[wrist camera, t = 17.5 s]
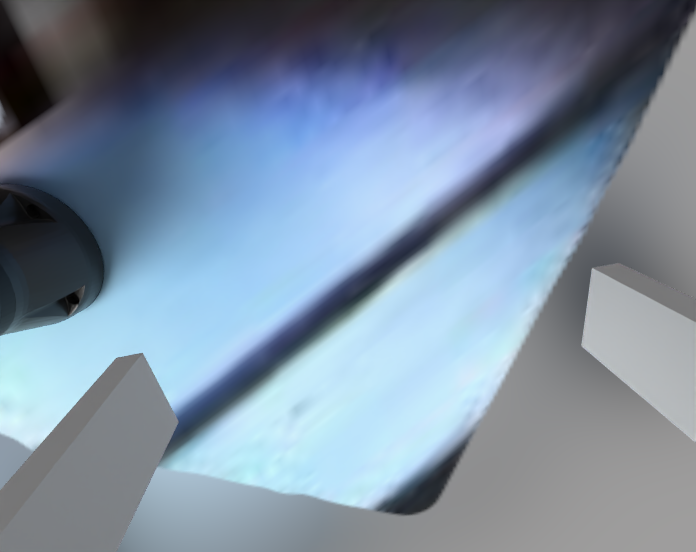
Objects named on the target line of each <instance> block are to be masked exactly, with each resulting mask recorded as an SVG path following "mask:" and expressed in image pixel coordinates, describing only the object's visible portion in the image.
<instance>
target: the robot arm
mask: <svg viewBox="0 0 696 552" xmlns="http://www.w3.org/2000/svg"><path fill="white" fill-rule="evenodd" d="M103 272H104V271H103V261H102V256H101V253H100V250H99V247H98V245H97V243H96V241H95V239H94V237H93V235H92V233H91V232H90V230H89V229H88V227H87V226H86V225H85V224H84V222H83V221H82V220H81V219H80V218H79V217H78V216H77V215H76V214H75V213H74V212H73V211H72V210H71V209H70V208H69V207H67V206H66V205H65V204H63V203H62V202H61V201H59V200H58V199H56V198H54V197H53V196H51V195H49V194H47V193H45V192H42V191H40V190H37V189H35V188H31V187H28V186H23V185H17V184H1V185H0V336H1V335H5V334H9V333H14V332H19V331H23V330H28V329H33V328H37V327H42V326H47V325H51V324H56V323H59V322H61V321H64V320H66V319H68V318H70V317H72V316H74V315H75V314H77V313H79V312H80V311H82V310H84V309H85V308H87V307H88V306H89V305H90V304H91V303H92V302H93V301H94V300H95V298H96V297H97V295H98V293H99V291H100V289H101V286H102V282H103ZM582 347H583V348H584V349H586V350H587V351H588V352H589V353H591V355H593V356H594V357H595V358H596V359H598V360H599V361H600V362H601V363H602V364H603V365H604V366H606V367H607V368H608V369H609V370H610V371H612V372H613V373H614V374H615V375H616V376H618V377H619V378H620V379H621V380H622V381H623V382H625V383H626V384H627V385H628V386H629V387H630V388H632V389H633V390H634V391H635V392H636V393H638V394H639V395H640V396H641V397H642V398H643V399H645V400H646V401H647V402H648V403H649V404H651V405H652V406H653V407H654V408H655V409H657V410H658V411H659V412H660V413H661V414H662V415H664V416H665V417H666V418H667V419H668V420H669V421H671V422H672V423H673V424H674V425H675V426H677V427H678V428H679V429H680V430H681V431H682V432H684V433H685V434H686V435H687V436H688V437H690V438H691V439H692V440H693V441H694V442H696V299H695V298H693V297H691V296H689V295H687V294H685V293H682V292H680V291H678V290H676V289H674V288H672V287H669V286H667V285H665V284H663V283H661V282H659V281H656V280H654V279H652V278H650V277H648V276H646V275H643V274H641V273H639V272H637V271H635V270H632V269H630V268H628V267H626V266H624V265H622V264H620V263H616V264H611V265H605V266H601V267H595V268H592V273H591V280H590V288H589V295H588V303H587V310H586V317H585V324H584V333H583V339H582ZM177 424H178V420H177V418H176V416H175V414H174V412H173V410H172V408H171V406H170V405H169V403H168V401H167V399H166V397H165V395H164V393H163V391H162V389H161V387H160V385H159V383H158V382H157V380H156V378H155V376H154V374H153V372H152V370H151V368H150V366H149V364H148V362H147V360H146V358H145V357H144V355H143V353H140V354H134V355H129V356H124V357H118V358H116V359H115V360H114V361H113V362H112V364H111V365H110V366H109V367H108V368H107V369H106V370H105V372H104V373H103V374H102V375H101V376H100V377H99V378H98V379H97V381H96V382H95V383H94V384H93V385H92V386H91V387H90V389H89V390H88V391H87V392H86V393H85V394H84V395H83V397H82V398H81V399H80V400H79V401H78V402H77V403H76V405H75V406H74V407H73V408H72V409H71V410H70V411H69V412H68V414H67V415H66V416H65V417H64V418H63V419H62V420H61V422H60V423H59V424H58V425H57V426H56V427H55V428H54V430H53V431H52V432H51V433H50V434H49V435H48V436H47V437H46V439H45V440H44V441H43V442H42V443H41V444H40V445H39V447H38V448H37V449H36V450H35V451H34V452H33V453H32V455H31V456H30V457H29V458H28V459H27V460H26V461H25V463H24V464H23V465H22V466H21V467H20V468H19V469H18V471H17V472H16V473H15V474H14V475H13V476H12V477H11V479H10V480H9V481H8V482H7V483H6V484H5V485H4V487H3V488H2V489H1V490H0V552H116V551H117V549H118V547H119V545H120V543H121V541H122V539H123V537H124V535H125V532H126V530H127V528H128V526H129V524H130V522H131V520H132V518H133V516H134V514H135V511H136V510H137V508H138V505H139V503H140V501H141V499H142V497H143V495H144V493H145V491H146V489H147V487H148V485H149V483H150V480H151V478H152V476H153V474H154V472H155V470H156V468H157V466H158V464H159V462H160V460H161V458H162V455H163V453H164V451H165V449H166V447H167V445H168V443H169V441H170V439H171V437H172V435H173V433H174V430H175V428H176V426H177Z"/></svg>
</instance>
